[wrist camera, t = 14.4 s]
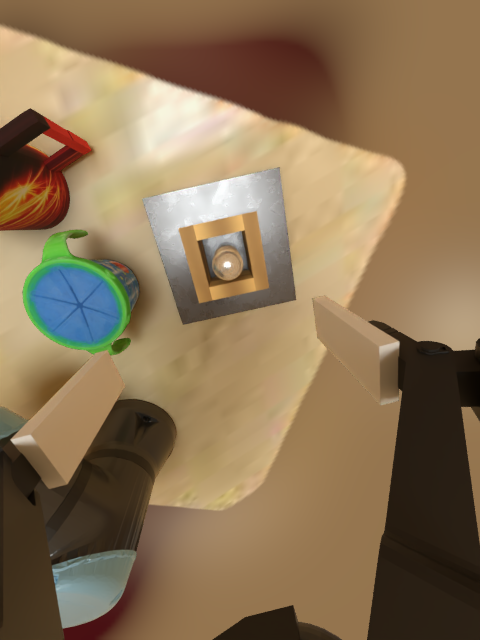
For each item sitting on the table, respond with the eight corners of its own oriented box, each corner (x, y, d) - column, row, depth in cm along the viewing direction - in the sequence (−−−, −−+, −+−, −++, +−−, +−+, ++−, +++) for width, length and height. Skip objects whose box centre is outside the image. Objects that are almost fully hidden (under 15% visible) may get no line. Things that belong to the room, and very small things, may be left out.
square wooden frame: (202, 291, 36) (199, 303, 30) (185, 227, 33) (178, 228, 27) (262, 278, 36) (269, 288, 30) (250, 213, 33) (256, 210, 27)
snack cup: (161, 331, 38) (141, 365, 29) (93, 337, 38) (51, 374, 29) (138, 225, 33) (104, 226, 23) (59, 232, 32) (-9, 235, 23)
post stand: (183, 323, 38) (167, 364, 27) (143, 199, 32) (99, 184, 20) (295, 298, 38) (325, 329, 27) (278, 168, 31) (309, 136, 20)
